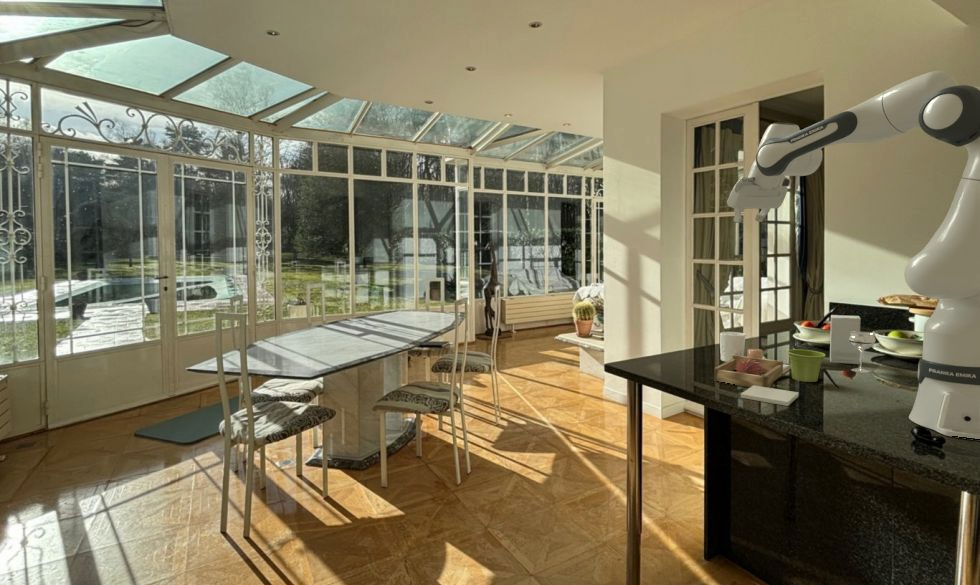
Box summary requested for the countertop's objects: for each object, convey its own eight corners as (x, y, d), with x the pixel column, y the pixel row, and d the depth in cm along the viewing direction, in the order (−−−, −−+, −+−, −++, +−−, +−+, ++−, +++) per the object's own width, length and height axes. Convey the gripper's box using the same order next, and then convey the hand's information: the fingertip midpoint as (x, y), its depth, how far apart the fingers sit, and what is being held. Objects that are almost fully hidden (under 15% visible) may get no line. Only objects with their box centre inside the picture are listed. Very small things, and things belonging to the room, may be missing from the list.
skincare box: (858, 361, 175) (860, 315, 173) (859, 365, 169) (862, 318, 168) (828, 358, 179) (830, 314, 178) (829, 362, 174) (831, 316, 172)
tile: (798, 396, 136) (798, 392, 136) (787, 406, 128) (787, 402, 128) (753, 388, 144) (753, 385, 143) (740, 397, 135) (740, 393, 135)
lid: (795, 367, 167) (796, 364, 167) (782, 377, 155) (783, 373, 155) (749, 361, 176) (749, 358, 176) (733, 370, 164) (733, 366, 164)
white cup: (747, 365, 170) (748, 336, 169) (721, 365, 172) (722, 335, 171) (740, 360, 178) (741, 332, 177) (716, 359, 180) (717, 331, 179)
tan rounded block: (763, 364, 167) (764, 349, 167) (759, 367, 164) (760, 351, 164) (749, 363, 170) (749, 348, 170) (745, 365, 167) (745, 350, 167)
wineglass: (879, 373, 159) (881, 334, 158) (857, 373, 159) (859, 334, 158) (863, 368, 166) (865, 331, 164) (842, 368, 166) (844, 331, 164)
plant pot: (817, 378, 153) (818, 350, 152) (828, 387, 144) (830, 356, 143) (782, 377, 156) (783, 348, 155) (791, 385, 147) (792, 355, 146)
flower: (756, 364, 147) (756, 351, 151) (729, 372, 152) (729, 358, 156) (770, 382, 149) (769, 368, 153) (742, 389, 155) (742, 375, 158)
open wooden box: (782, 377, 155) (783, 361, 154) (766, 389, 142) (766, 372, 142) (733, 370, 164) (733, 355, 164) (714, 381, 152) (714, 364, 151)
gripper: (747, 180, 148) (731, 225, 155) (795, 181, 157) (778, 224, 163) (731, 174, 153) (715, 218, 160) (778, 175, 162) (762, 217, 168)
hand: (747, 221), depth 161 cm, fingers open, 8 cm apart
